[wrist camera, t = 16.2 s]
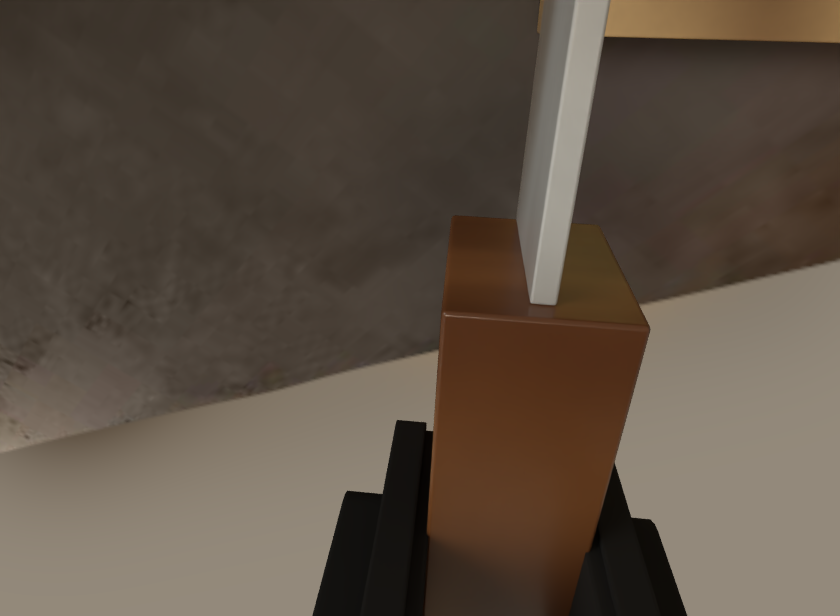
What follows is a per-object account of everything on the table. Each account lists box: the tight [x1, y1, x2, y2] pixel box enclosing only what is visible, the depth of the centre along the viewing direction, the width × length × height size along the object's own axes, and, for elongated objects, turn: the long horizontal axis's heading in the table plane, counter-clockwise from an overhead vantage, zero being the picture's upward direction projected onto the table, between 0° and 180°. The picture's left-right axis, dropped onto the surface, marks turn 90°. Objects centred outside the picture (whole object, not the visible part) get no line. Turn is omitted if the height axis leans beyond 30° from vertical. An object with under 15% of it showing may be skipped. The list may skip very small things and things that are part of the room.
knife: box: [423, 0, 650, 616], centre depth 7 cm, size 21×2×3 cm, turn 178°
